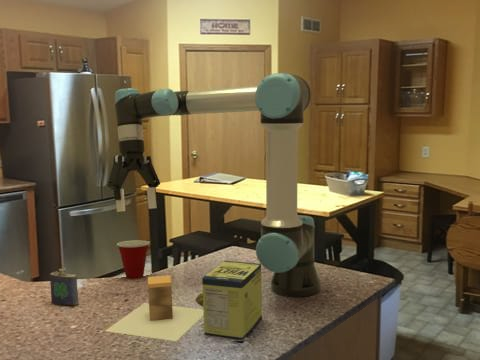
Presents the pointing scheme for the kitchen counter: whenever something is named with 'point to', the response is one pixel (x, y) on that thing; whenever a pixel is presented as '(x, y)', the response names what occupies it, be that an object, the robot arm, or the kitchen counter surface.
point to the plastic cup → (133, 257)
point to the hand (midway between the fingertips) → (137, 210)
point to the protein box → (232, 300)
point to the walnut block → (160, 298)
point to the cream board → (157, 323)
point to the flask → (64, 288)
